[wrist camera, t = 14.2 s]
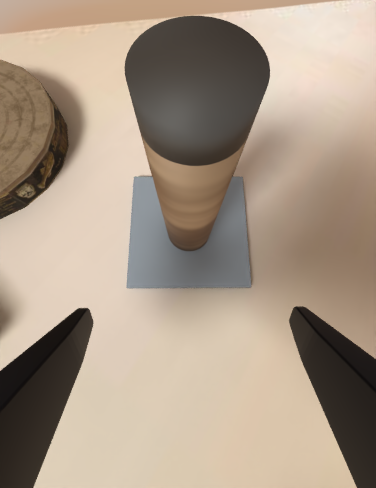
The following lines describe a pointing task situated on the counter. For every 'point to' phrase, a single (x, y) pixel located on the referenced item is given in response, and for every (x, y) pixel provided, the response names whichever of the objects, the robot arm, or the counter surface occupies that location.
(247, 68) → the dark-capped brown cylinder
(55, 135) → the brown ringed flat disc
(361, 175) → the counter surface
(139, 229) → the mat
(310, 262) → the counter surface
